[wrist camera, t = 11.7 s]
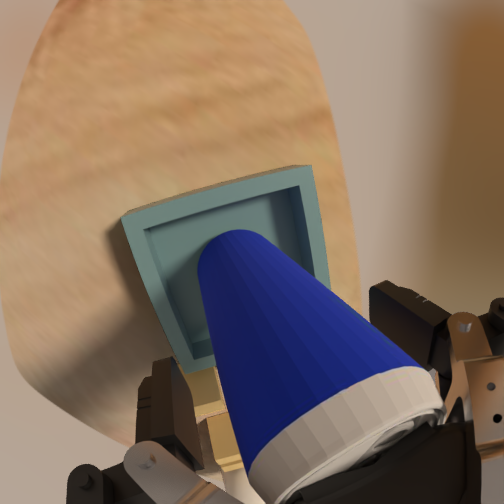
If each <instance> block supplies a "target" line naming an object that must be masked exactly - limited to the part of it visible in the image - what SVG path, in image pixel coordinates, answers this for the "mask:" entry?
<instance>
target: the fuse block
mask: <svg viewBox="0 0 504 504" xmlns="http://www.w3.org/2000/svg"><path fill="white" fill-rule="evenodd" d="M177 365H178V367H179V369H180V371H181V373H182V375H183V377H184V378H185V380H186V382H187V384H188V386H189V388H190V391H191V394H192V398H193V404H194V411H195V417H197V416H201V415H205V414H209V413H213V412H217V411H220V410H224V409H226V408H225V404H224V401H223V397H222V393H221V389H220V385H219V380H218V376H217V372H216V368H215V366H213V367H210V368H207V369H203V370H200V371H196V372H192V373H189V374H185V373H184V371H183V369H182V367H181V365H180V363H179V364H177ZM206 419H207V424H208V429H209V434H210V439H211V444H212V449H213V453H214V458H215V461H216V462H217V463H218V465H220V466H221V468H222V470H223V471H224V472H227V471H231V470H235V469H239V468H243V467H244V465H243V462H242V459H241V455H240V452H239V448H238V445H237V442H236V438H235V435H234V431H233V428H232V424H231V420H230V417H229V413H228V412H227V413H223V414H220V415H216V416H213V417H209V418H206Z"/></svg>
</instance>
